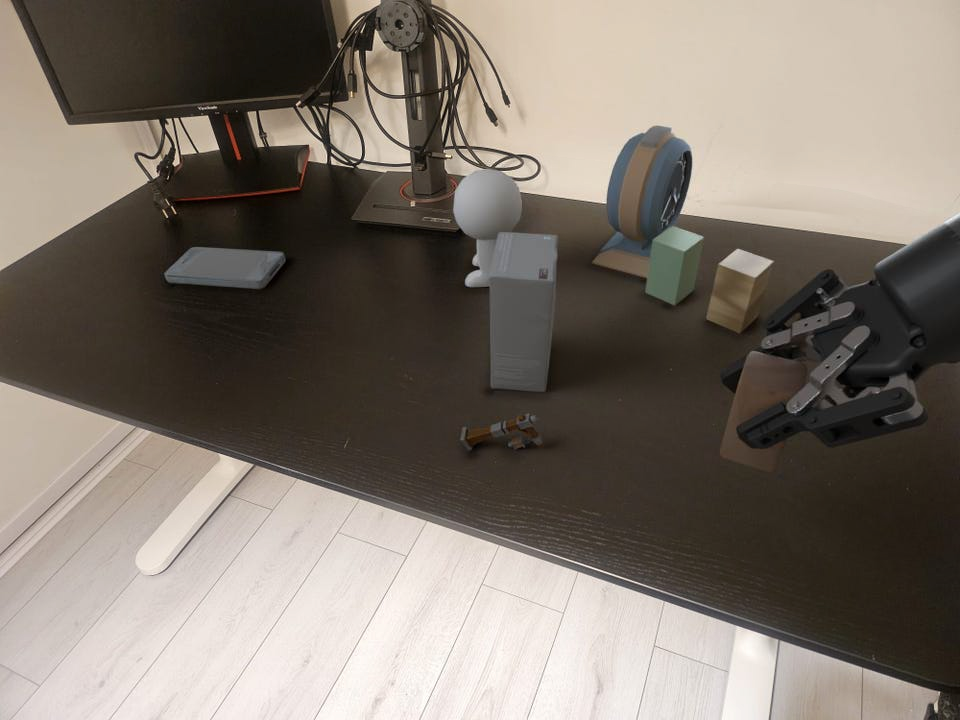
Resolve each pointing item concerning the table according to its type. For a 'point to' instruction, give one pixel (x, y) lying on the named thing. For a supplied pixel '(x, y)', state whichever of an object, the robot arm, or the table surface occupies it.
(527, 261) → the cosmetic box
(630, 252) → the alarm clock
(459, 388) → the table surface
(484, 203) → the toy character
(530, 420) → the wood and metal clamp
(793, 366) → the wooden block
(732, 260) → the line block
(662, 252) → the line block
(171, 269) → the phone
